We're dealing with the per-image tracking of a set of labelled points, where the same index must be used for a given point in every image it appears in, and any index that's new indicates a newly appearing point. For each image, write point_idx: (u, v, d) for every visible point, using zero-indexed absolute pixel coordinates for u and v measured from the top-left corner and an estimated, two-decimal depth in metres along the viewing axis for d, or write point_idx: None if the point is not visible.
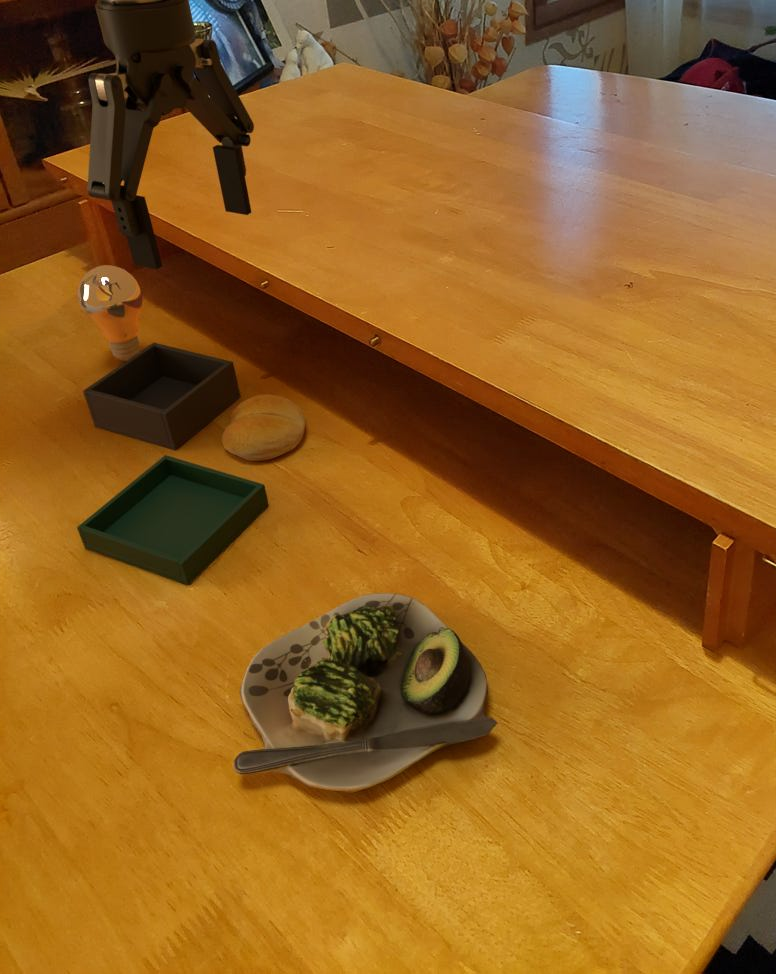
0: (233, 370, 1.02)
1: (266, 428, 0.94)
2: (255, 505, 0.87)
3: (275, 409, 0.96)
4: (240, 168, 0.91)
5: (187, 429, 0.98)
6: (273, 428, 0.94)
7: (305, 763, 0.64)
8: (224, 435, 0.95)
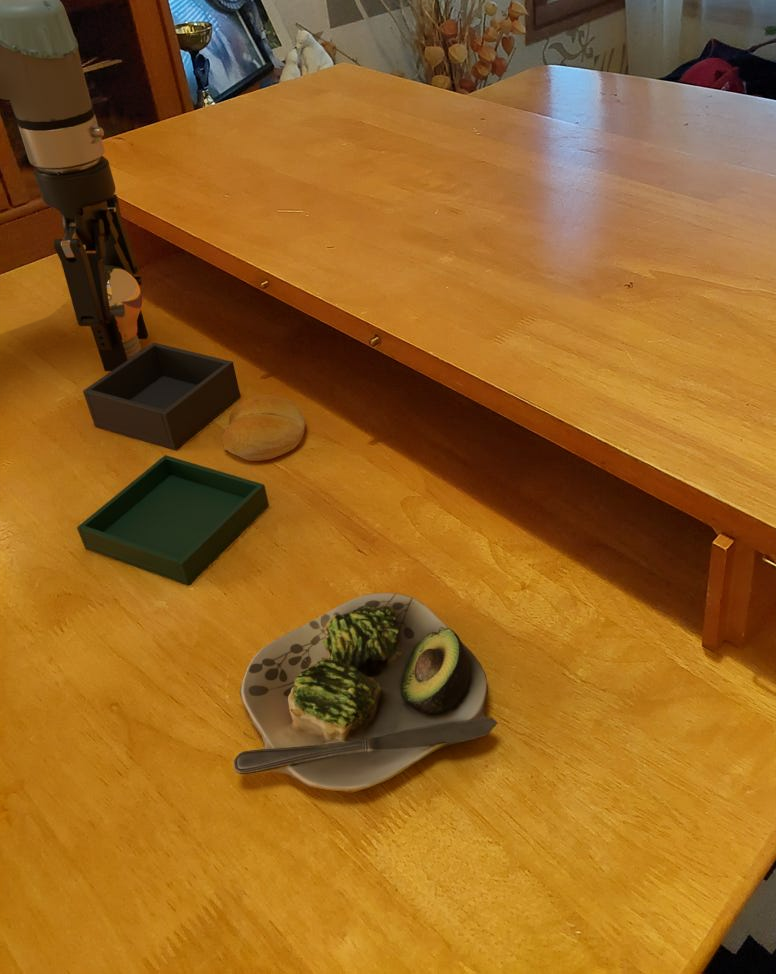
0: (233, 370, 1.02)
1: (266, 428, 0.94)
2: (255, 505, 0.87)
3: (275, 409, 0.96)
4: None
5: (187, 429, 0.98)
6: (273, 428, 0.94)
7: (305, 763, 0.64)
8: (224, 435, 0.95)
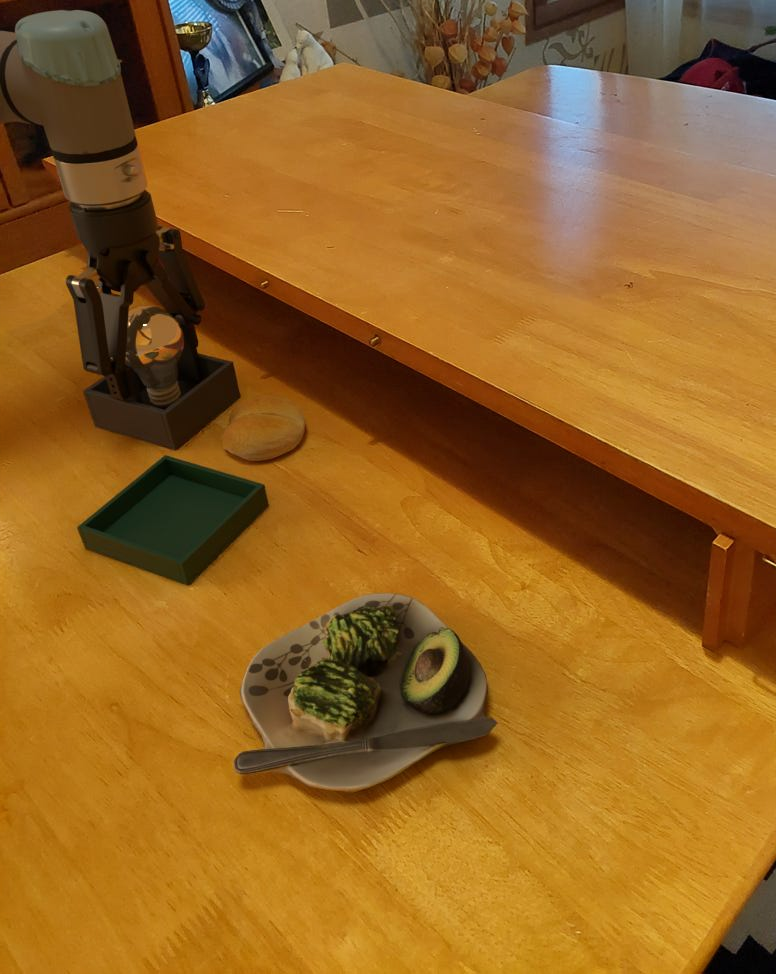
0: (233, 370, 1.02)
1: (266, 428, 0.94)
2: (255, 505, 0.87)
3: (275, 409, 0.96)
4: (192, 343, 1.01)
5: (187, 429, 0.98)
6: (273, 428, 0.94)
7: (305, 763, 0.64)
8: (224, 435, 0.95)
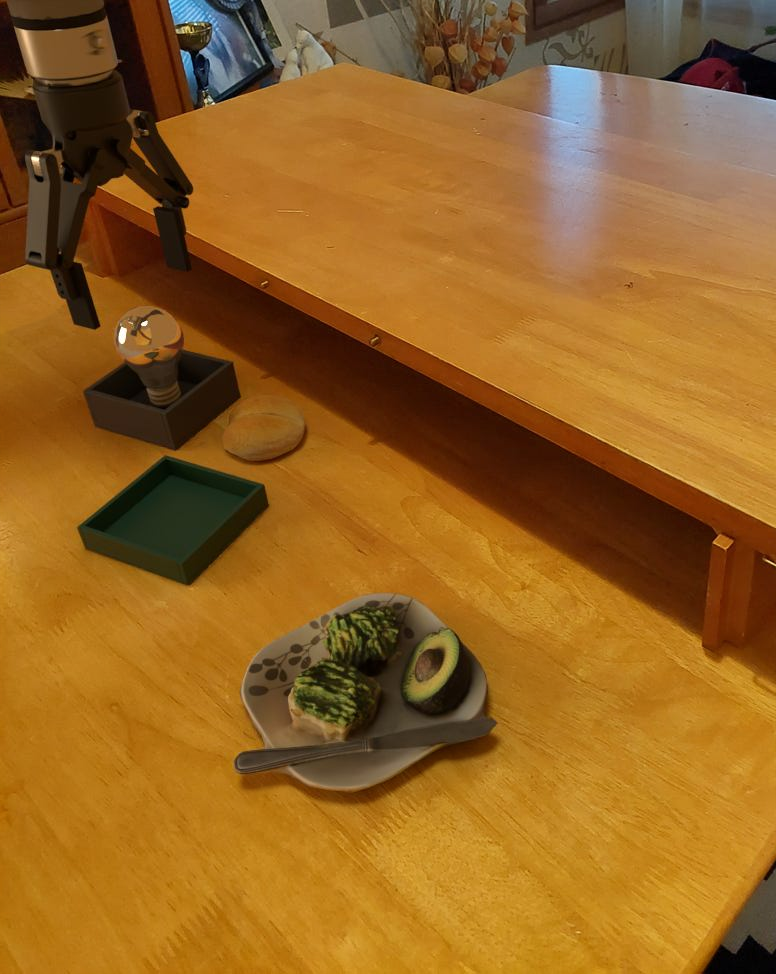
0: (233, 370, 1.02)
1: (266, 428, 0.94)
2: (255, 505, 0.87)
3: (275, 409, 0.96)
4: (179, 229, 0.95)
5: (187, 429, 0.98)
6: (273, 428, 0.94)
7: (305, 763, 0.64)
8: (224, 435, 0.95)
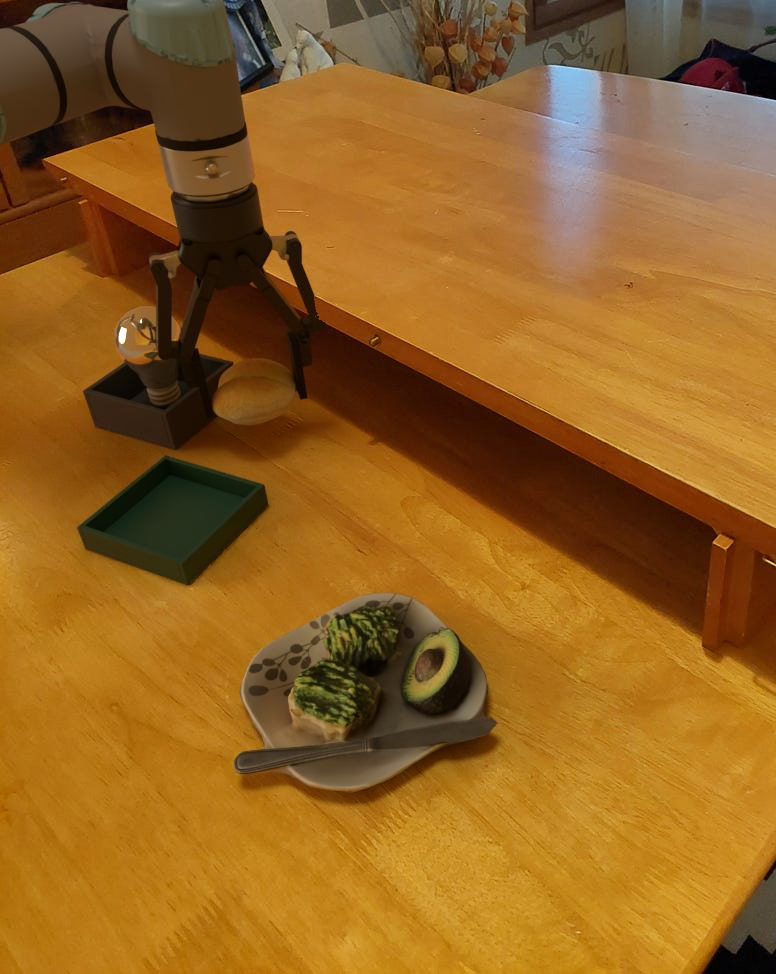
0: None
1: (256, 391, 0.91)
2: (255, 505, 0.87)
3: (265, 373, 0.94)
4: (297, 360, 0.93)
5: (187, 429, 0.98)
6: (264, 392, 0.92)
7: (305, 763, 0.64)
8: (213, 398, 0.92)
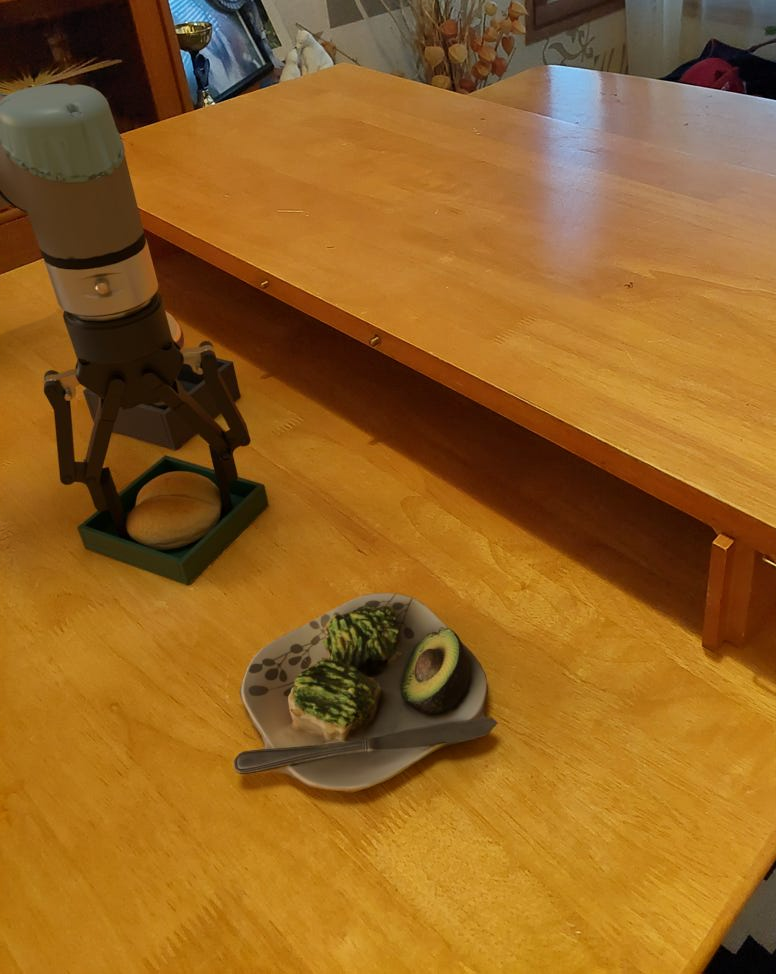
0: (233, 370, 1.02)
1: (174, 514, 0.82)
2: (255, 505, 0.87)
3: (186, 490, 0.85)
4: (219, 477, 0.84)
5: (187, 429, 0.98)
6: (182, 514, 0.83)
7: (305, 763, 0.64)
8: (127, 520, 0.84)
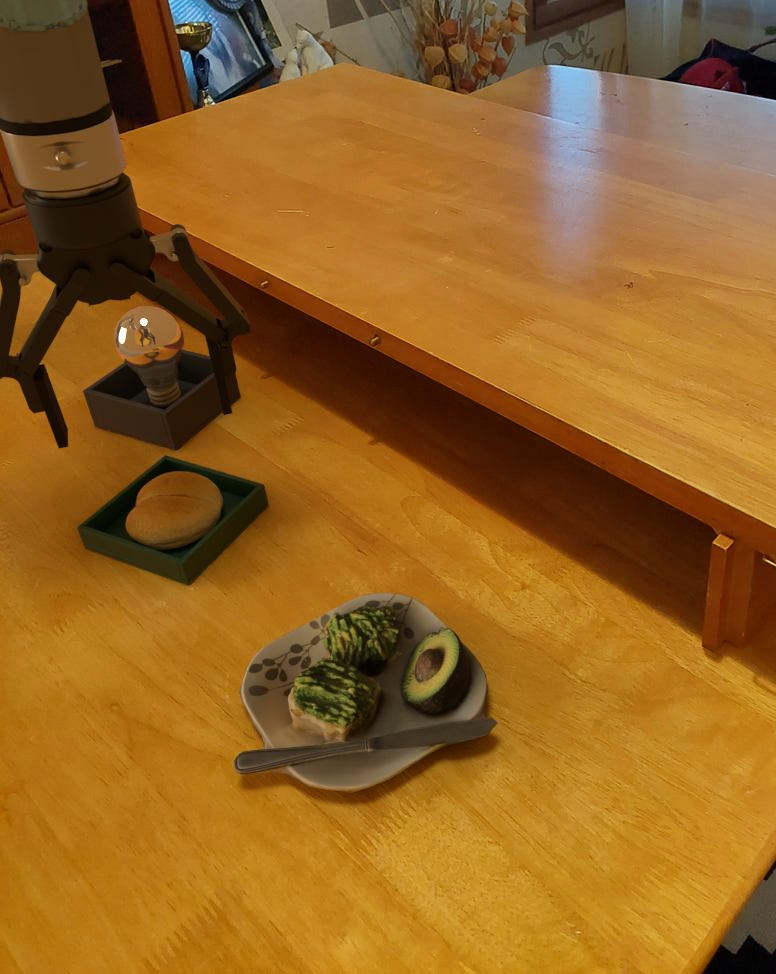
0: None
1: (174, 514, 0.82)
2: (255, 505, 0.87)
3: (186, 490, 0.85)
4: (217, 368, 0.78)
5: (187, 429, 0.98)
6: (182, 514, 0.83)
7: (305, 763, 0.64)
8: (127, 520, 0.84)
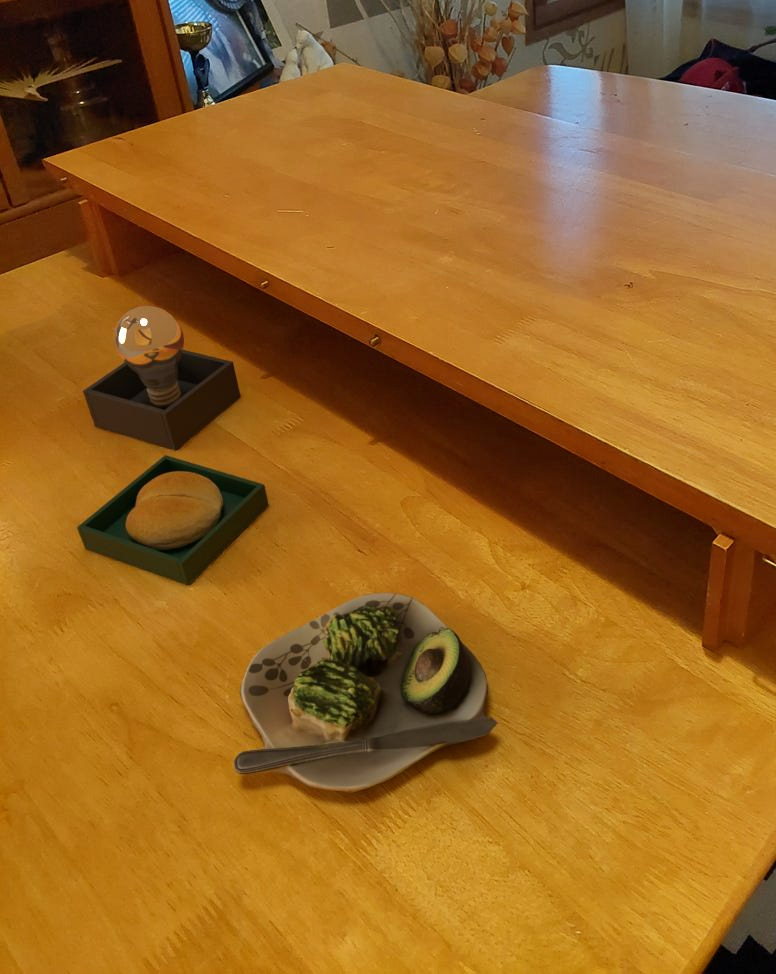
0: (233, 370, 1.02)
1: (174, 514, 0.82)
2: (255, 505, 0.87)
3: (186, 490, 0.85)
4: None
5: (187, 429, 0.98)
6: (182, 514, 0.83)
7: (305, 763, 0.64)
8: (127, 520, 0.84)
